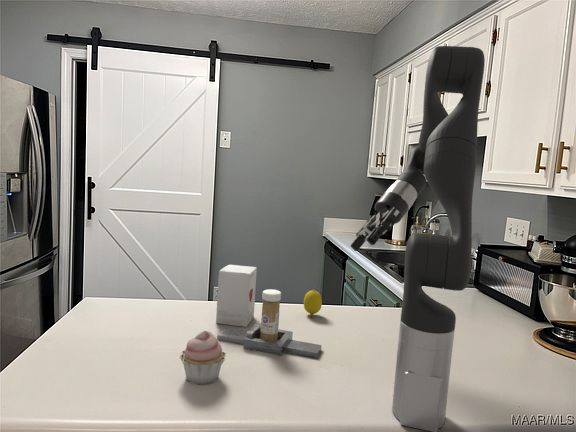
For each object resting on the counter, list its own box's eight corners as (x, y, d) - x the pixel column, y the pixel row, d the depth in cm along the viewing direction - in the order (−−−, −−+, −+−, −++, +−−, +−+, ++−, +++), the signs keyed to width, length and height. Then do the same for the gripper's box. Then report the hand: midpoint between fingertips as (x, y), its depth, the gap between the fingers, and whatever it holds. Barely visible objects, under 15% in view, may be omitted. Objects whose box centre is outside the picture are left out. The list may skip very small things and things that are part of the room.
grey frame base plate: (314, 362, 94) (315, 347, 94) (212, 342, 101) (213, 329, 101) (323, 346, 103) (324, 333, 103) (229, 329, 110) (229, 317, 110)
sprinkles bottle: (256, 345, 101) (259, 292, 100) (263, 339, 106) (266, 287, 104) (273, 349, 100) (277, 295, 98) (280, 342, 104) (284, 290, 103)
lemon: (299, 315, 125) (301, 289, 124) (307, 310, 130) (309, 286, 129) (316, 319, 122) (318, 293, 121) (323, 314, 127) (325, 289, 126)
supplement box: (246, 327, 113) (250, 273, 111) (215, 323, 114) (217, 270, 112) (254, 316, 121) (257, 266, 120) (225, 313, 123) (227, 263, 121)
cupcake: (179, 391, 78) (181, 340, 77) (178, 368, 87) (179, 322, 86) (228, 387, 81) (231, 338, 80) (222, 365, 90) (224, 321, 89)
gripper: (372, 199, 114) (338, 240, 108) (401, 182, 101) (364, 228, 95) (391, 218, 114) (358, 260, 108) (422, 204, 101) (387, 251, 95)
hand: (361, 245), depth 101 cm, fingers open, 8 cm apart
